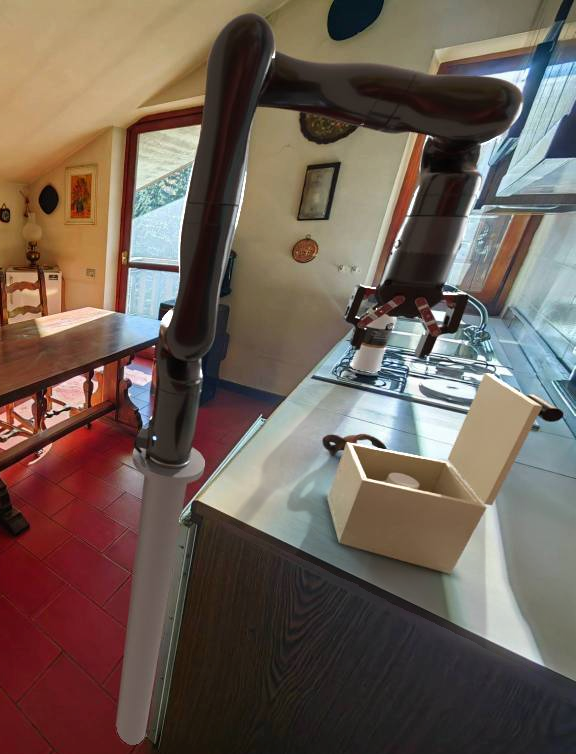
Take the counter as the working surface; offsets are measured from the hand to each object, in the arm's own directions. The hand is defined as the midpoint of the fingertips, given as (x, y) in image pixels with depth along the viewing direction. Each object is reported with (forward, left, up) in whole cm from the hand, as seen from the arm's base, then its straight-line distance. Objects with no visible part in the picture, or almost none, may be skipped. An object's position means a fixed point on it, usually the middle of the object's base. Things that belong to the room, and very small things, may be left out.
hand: (386, 352), depth 64 cm
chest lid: (+13, -7, -9) cm, 17 cm away
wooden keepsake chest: (+6, -7, -30) cm, 31 cm away
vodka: (+22, +89, -30) cm, 96 cm away
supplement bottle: (+6, -7, -29) cm, 31 cm away
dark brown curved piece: (+5, +16, -30) cm, 34 cm away
